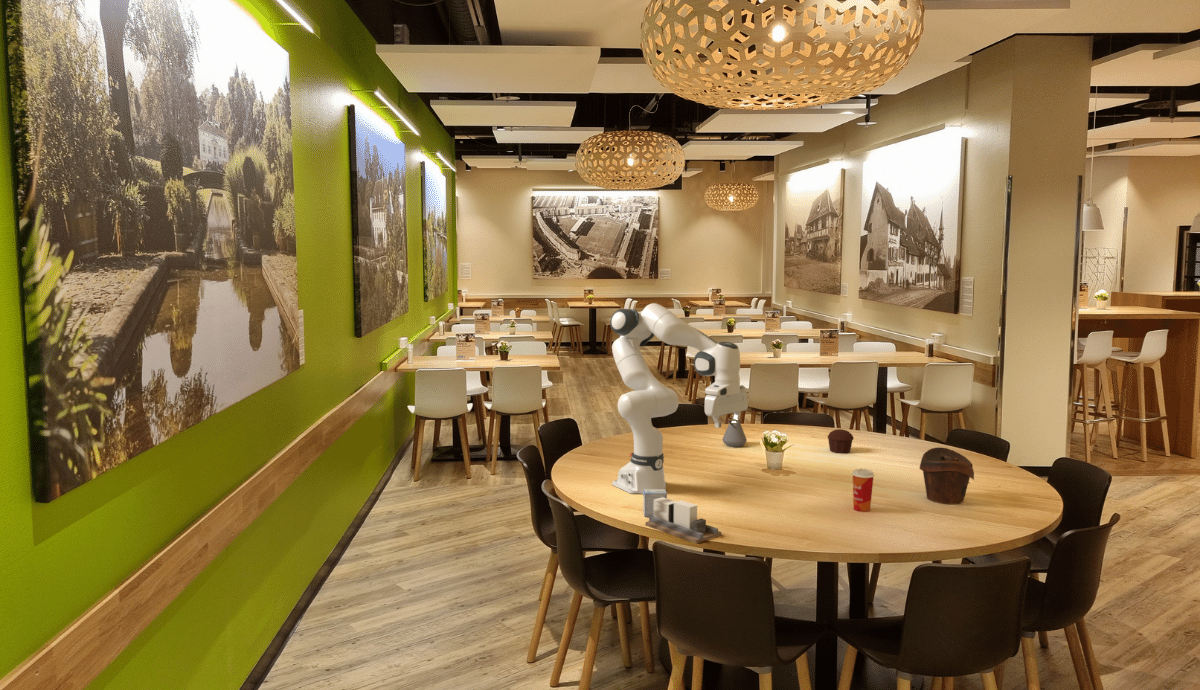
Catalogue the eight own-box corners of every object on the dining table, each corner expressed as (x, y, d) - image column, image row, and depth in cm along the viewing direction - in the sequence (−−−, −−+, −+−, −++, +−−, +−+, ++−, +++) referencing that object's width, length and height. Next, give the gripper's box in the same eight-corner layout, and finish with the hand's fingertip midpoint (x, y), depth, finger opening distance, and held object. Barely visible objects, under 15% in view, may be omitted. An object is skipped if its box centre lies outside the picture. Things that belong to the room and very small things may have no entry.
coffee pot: (724, 441, 393) (725, 411, 391) (748, 443, 389) (749, 412, 387) (716, 452, 373) (716, 420, 371) (741, 454, 369) (741, 421, 367)
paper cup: (847, 505, 293) (849, 468, 292) (869, 506, 293) (870, 468, 291) (853, 512, 286) (855, 474, 284) (876, 513, 285) (877, 474, 284)
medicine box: (665, 512, 286) (665, 489, 285) (667, 517, 281) (667, 492, 280) (643, 513, 285) (643, 489, 284) (644, 517, 281) (644, 492, 280)
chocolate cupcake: (954, 510, 288) (957, 461, 286) (906, 496, 304) (909, 449, 303) (984, 503, 297) (987, 455, 295) (936, 490, 314) (939, 444, 312)
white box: (689, 531, 263) (689, 507, 262) (672, 525, 269) (672, 502, 268) (696, 529, 265) (697, 505, 265) (679, 523, 271) (680, 500, 270)
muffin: (823, 452, 373) (824, 430, 372) (831, 447, 382) (832, 426, 381) (849, 455, 366) (849, 433, 365) (856, 450, 375) (857, 429, 374)
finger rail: (645, 525, 273) (645, 502, 272) (670, 517, 280) (670, 495, 279) (696, 543, 255) (696, 518, 254) (721, 534, 263) (721, 511, 262)
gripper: (738, 383, 300) (738, 420, 301) (701, 389, 286) (701, 428, 288) (752, 385, 295) (751, 423, 297) (715, 391, 282) (714, 430, 283)
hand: (726, 425), depth 292 cm, fingers open, 8 cm apart
